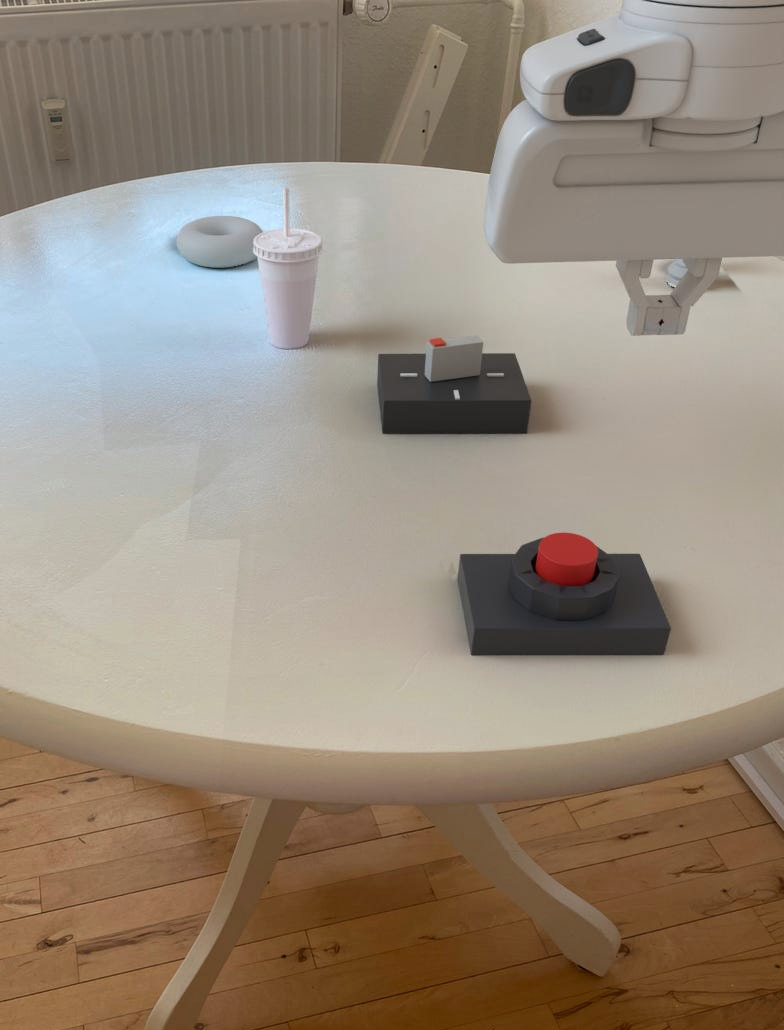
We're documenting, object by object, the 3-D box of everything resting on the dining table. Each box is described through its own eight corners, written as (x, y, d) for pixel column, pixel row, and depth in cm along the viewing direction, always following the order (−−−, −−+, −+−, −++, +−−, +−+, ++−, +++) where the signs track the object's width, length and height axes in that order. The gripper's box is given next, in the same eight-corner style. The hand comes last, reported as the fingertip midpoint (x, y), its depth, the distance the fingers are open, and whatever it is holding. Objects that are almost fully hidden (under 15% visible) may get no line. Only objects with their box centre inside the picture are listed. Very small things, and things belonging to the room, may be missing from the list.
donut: (165, 250, 122) (195, 277, 115) (163, 219, 120) (192, 245, 113) (246, 237, 125) (279, 263, 118) (245, 207, 123) (278, 232, 116)
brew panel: (511, 384, 95) (515, 351, 93) (527, 433, 88) (532, 398, 86) (376, 385, 95) (378, 351, 93) (382, 433, 88) (383, 398, 86)
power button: (587, 554, 68) (591, 532, 67) (599, 588, 65) (603, 565, 64) (531, 554, 68) (534, 532, 67) (540, 588, 65) (544, 565, 64)
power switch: (633, 579, 72) (645, 530, 69) (664, 655, 66) (678, 605, 63) (457, 580, 72) (462, 530, 69) (470, 656, 66) (477, 605, 63)
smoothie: (315, 325, 105) (316, 176, 96) (328, 352, 100) (329, 198, 91) (252, 329, 104) (246, 181, 95) (261, 357, 99) (256, 203, 90)
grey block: (473, 368, 90) (477, 332, 88) (480, 375, 89) (484, 339, 87) (424, 375, 89) (426, 338, 87) (430, 382, 88) (432, 345, 86)
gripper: (893, 41, 54) (816, 304, 63) (491, 53, 54) (471, 314, 63) (952, 68, 49) (859, 350, 58) (510, 81, 49) (485, 360, 58)
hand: (654, 331), depth 60 cm, fingers closed
